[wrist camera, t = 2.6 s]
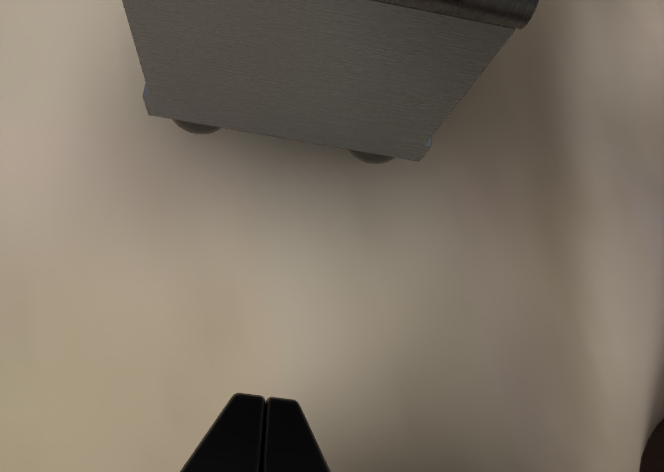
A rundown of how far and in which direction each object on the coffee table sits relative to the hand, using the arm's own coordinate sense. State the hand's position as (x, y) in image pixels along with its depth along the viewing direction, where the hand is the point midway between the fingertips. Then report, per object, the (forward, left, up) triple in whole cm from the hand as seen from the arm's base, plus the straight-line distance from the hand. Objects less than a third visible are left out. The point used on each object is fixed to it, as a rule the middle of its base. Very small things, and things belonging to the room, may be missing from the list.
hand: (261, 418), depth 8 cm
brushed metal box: (+8, -9, -11) cm, 16 cm away
